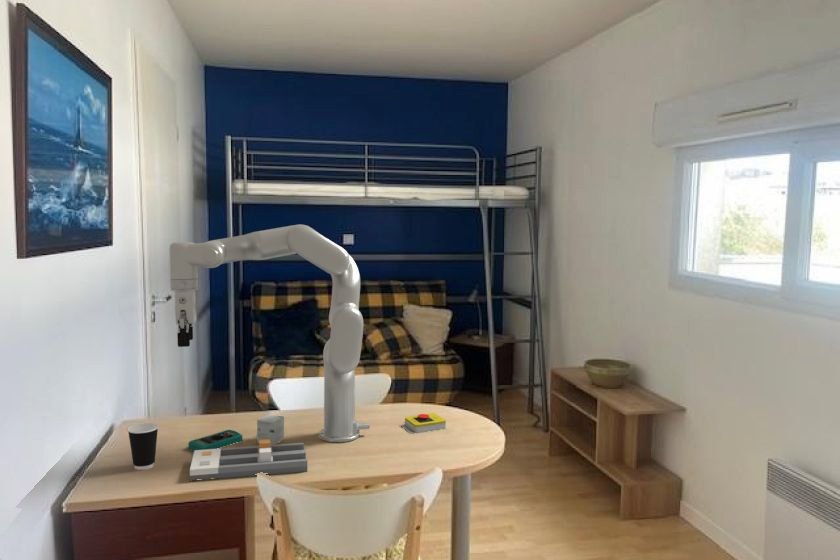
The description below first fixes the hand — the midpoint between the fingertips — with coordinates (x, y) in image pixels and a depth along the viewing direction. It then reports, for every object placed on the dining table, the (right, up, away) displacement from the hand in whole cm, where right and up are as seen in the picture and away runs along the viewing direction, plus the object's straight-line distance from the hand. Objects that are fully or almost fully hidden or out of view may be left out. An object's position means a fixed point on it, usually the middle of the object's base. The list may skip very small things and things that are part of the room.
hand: (185, 343), depth 186 cm
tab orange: (+25, -31, -6) cm, 40 cm away
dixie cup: (-7, -33, -12) cm, 35 cm away
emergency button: (+70, -31, +25) cm, 81 cm away
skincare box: (+23, -31, +9) cm, 40 cm away
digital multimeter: (+7, -32, +5) cm, 33 cm away
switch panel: (+22, -33, -11) cm, 41 cm away
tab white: (+26, -31, -13) cm, 43 cm away
